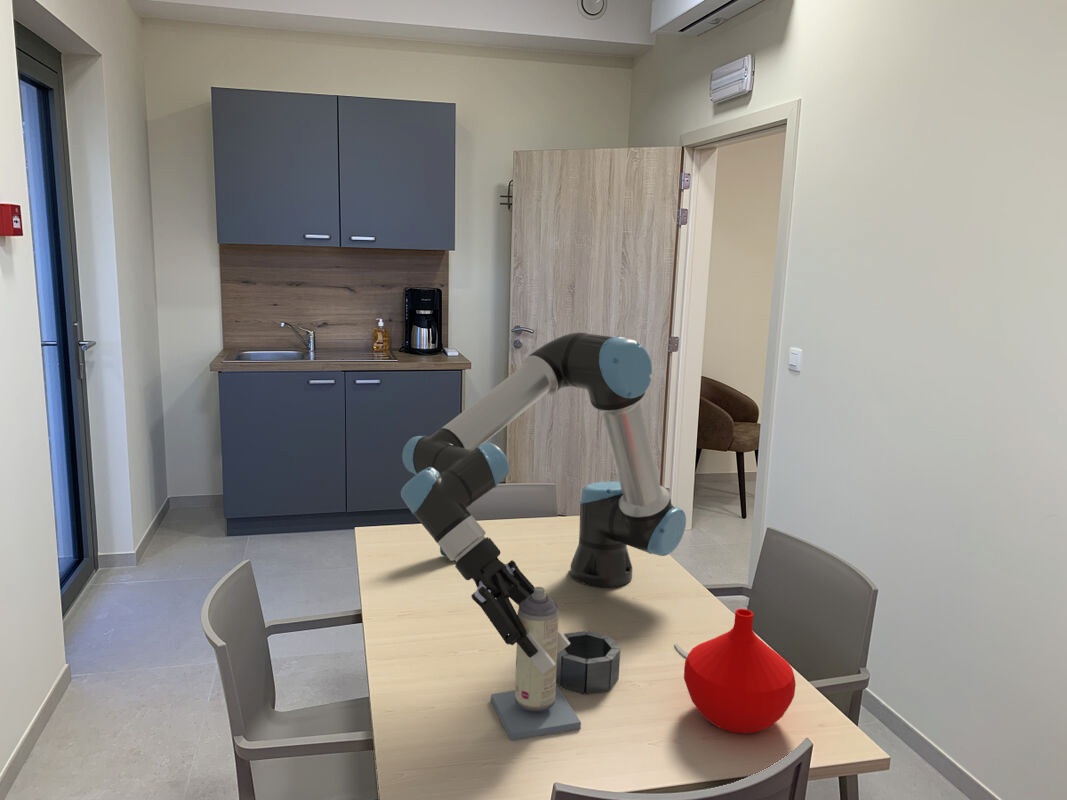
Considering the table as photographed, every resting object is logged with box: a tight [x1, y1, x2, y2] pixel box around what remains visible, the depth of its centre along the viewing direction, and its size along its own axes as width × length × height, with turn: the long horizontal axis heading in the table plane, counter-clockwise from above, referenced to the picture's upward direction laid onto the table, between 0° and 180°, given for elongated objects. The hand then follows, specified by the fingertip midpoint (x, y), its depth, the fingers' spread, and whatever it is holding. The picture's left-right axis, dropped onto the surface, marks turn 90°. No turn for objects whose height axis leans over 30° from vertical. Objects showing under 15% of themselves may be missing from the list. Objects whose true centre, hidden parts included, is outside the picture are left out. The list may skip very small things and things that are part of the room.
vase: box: [683, 608, 797, 735], centre depth 134 cm, size 18×18×19 cm
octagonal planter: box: [556, 630, 621, 695], centre depth 146 cm, size 12×12×6 cm
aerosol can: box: [514, 586, 560, 711], centre depth 132 cm, size 7×7×20 cm
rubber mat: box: [490, 685, 582, 741], centre depth 134 cm, size 12×12×1 cm
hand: (556, 658), depth 131 cm, fingers closed on aerosol can, 7 cm apart
